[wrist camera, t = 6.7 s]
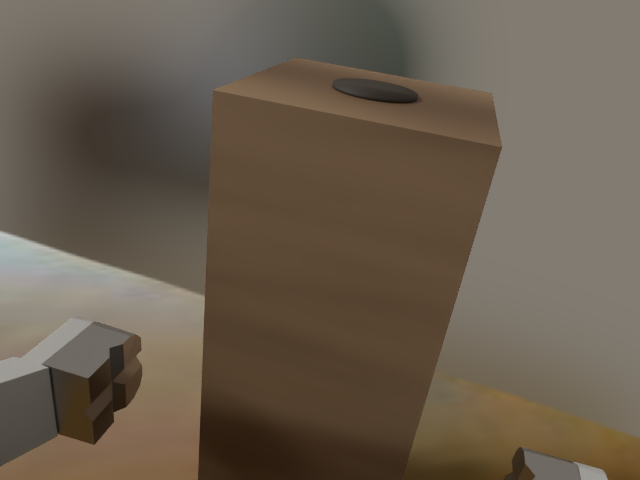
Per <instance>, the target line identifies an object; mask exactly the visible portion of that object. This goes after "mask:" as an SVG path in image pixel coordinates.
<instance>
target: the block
mask: <svg viewBox="0 0 640 480" xmlns="http://www.w3.org/2000/svg"><path fill="white" fill-rule="evenodd" d="M211 132H212V133H211V157H210V182H209V184H210V185H209V208H208V235H207V237H208V238H207V260H206V262H207V263H206V286H205V313H204V339H203V365H202V391H201V417H200V443H199V470H198V480H402V477H403V474H404V470H405V467H406V464H407V460H408V457H409V454H410V450H411V447H412V444H413V440H414V437H415V434H416V430H417V427H418V424H419V421H420V417H421V414H422V411H423V407H424V404H425V401H426V397H427V394H428V391H429V387H430V384H431V381H432V377H433V374H434V371H435V367H436V364H437V361H438V357H439V354H440V351H441V348H442V344H443V341H444V338H445V334H446V331H447V327H448V324H449V321H450V318H451V314H452V311H453V308H454V304H455V301H456V298H457V295H458V291H459V288H460V285H461V281H462V278H463V274H464V271H465V268H466V265H467V261H468V258H469V255H470V251H471V248H472V245H473V241H474V238H475V235H476V231H477V228H478V225H479V222H480V218H481V215H482V212H483V208H484V205H485V201H486V198H487V195H488V191H489V188H490V185H491V182H492V178H493V175H494V172H495V168H496V165H497V162H498V159H499V155H500V152H501V148H502V145H501V140H500V134H499V129H498V124H497V119H496V113H495V108H494V102H493V97H492V93H488V92H483V91H477V90H472V89H466V88H460V87H455V86H449V85H444V84H438V83H433V82H427V81H422V80H416V79H411V78H405V77H400V76H394V75H389V74H383V73H378V72H372V71H367V70H361V69H356V68H350V67H345V66H339V65H334V64H328V63H322V62H317V61H311V60H306V59H301V58H294V59H292V60H289V61H286V62H284V63H281V64H279V65H276V66H274V67H271V68H268V69H266V70H263V71H261V72H258V73H256V74H253V75H251V76H248V77H246V78H243V79H240V80H238V81H235V82H233V83H230V84H227V85H225V86H222V87H220V88H217V89H215V90H213V103H212V131H211Z"/></svg>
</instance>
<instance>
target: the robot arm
mask: <svg viewBox="0 0 640 480" xmlns="http://www.w3.org/2000/svg"><path fill="white" fill-rule="evenodd" d="M140 351H141V338H140V337H139V336H138V335H136V334H133V333H130V332H127V331H124V330H121V329H118V328H115V327H111V326H108V325H105V324H102V323H99V322H94V321H91V320H88V319H85V318H82V317H79V316H77V317H73V318H70V319H69V320H68V321H66V322H65V323H64V324H63V325H61V326H60V327H59V328H58V329H56V330H55V331H54V332H53V333H52V334H50V335H49V336H48V337H47V338H45V339H44V340H43V341H42V342H40V343H39V344H38V345H37V346H35V347H34V348H33V349H32V350H30V351H29V352H28V353H27V354H25V355H24V356H23V357H22V358H17V357H11V358H8V359H5V360H1V361H0V466H2V465H4V464H6V463H7V462H9V461H11V460H13V459H15V458H17V457H19V456H21V455H23V454H25V453H26V452H28V451H30V450H32V449H34V448H36V447H38V446H40V445H42V444H44V443H46V442H47V441H49V440H51V439H53V438H55V437H57V436H58V434H60V435H64V436H67V437H70V438H74V439H77V440H80V441H83V442H87V443H90V444H93V445H95V444H96V442H97V441H98V440H99V439H100V438H101V436H102V435H103V434H104V433H105V432H106V431H107V429H108V428H109V427H110V426H111V425H112V423H113V422H114V412H116V411H118V410H120V409H123V408H125V407H127V405H128V404H129V403H130V402H131V400H132V399H133V398H134V396H135V394H136V392H137V390H138V388H139V386H140V382H141V378H142V365H141V363H140V362H139V360H138V359H137V357H136V355H137V354H138V353H139V352H140ZM512 466H513V473H511V474H508V475H506V476H505V478H504V480H608V479H607V475H606V474H605V472H604V471H603V470H602V469H599V468H595V467H591V466H588V465H584V464H581V463H577V462H572V461H569V460H565V459H562V458H558V457H555V456H551V455H548V454H544V453H541V452H537V451H534V450H530V449H527V448H523V447H519V448H518V450H517V451H516V453H515V455H514V457H513V459H512Z"/></svg>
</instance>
